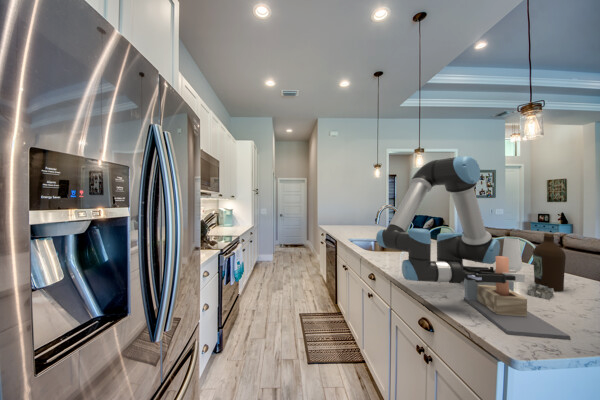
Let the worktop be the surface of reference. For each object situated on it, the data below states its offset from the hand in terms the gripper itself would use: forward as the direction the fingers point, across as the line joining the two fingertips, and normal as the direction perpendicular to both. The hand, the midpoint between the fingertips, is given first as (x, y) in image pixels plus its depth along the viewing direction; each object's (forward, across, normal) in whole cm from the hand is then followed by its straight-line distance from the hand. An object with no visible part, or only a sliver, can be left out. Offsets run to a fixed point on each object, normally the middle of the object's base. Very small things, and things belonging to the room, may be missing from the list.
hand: (519, 275), depth 86 cm
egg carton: (+22, -22, -14) cm, 34 cm away
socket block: (-5, -1, -12) cm, 13 cm away
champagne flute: (+8, -17, -13) cm, 23 cm away
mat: (-5, +3, -13) cm, 15 cm away
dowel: (-5, 0, -10) cm, 11 cm away
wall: (-5, -8, -12) cm, 16 cm away
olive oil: (+32, -32, -13) cm, 47 cm away
